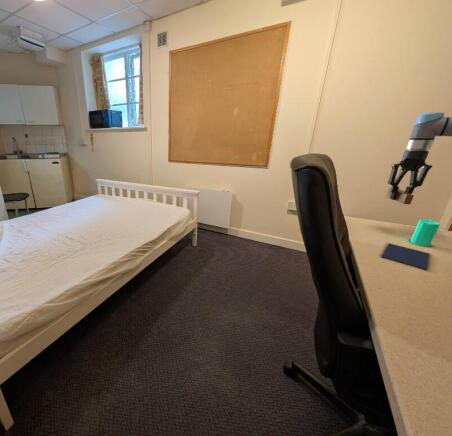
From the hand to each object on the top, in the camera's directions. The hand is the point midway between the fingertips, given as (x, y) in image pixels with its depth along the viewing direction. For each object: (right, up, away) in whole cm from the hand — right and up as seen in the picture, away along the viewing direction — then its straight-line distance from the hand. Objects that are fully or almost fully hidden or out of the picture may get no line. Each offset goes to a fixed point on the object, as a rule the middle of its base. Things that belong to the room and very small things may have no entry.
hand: (398, 199), depth 108 cm
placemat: (-17, -25, -18) cm, 35 cm away
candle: (+1, -21, -8) cm, 22 cm away
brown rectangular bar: (0, 0, 0) cm, 1 cm away
